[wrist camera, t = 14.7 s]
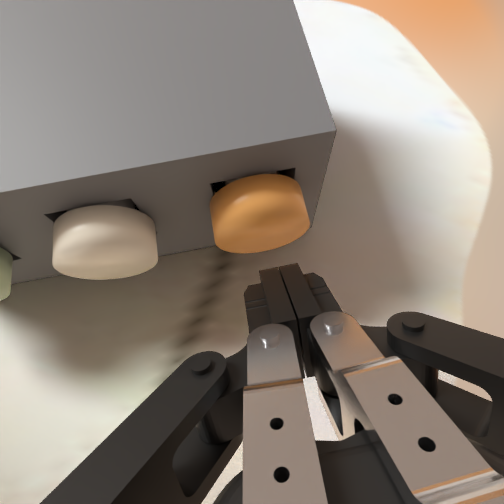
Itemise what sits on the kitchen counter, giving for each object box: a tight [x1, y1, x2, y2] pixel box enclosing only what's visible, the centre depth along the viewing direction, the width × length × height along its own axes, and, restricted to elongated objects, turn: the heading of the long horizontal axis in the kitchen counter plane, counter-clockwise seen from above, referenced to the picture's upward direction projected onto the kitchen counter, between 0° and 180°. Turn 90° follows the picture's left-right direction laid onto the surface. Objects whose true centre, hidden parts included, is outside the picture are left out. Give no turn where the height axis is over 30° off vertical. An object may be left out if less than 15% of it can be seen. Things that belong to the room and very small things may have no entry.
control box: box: [0, 0, 336, 284], centre depth 17 cm, size 19×10×8 cm, turn 100°
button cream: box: [52, 198, 158, 280], centre depth 15 cm, size 4×5×4 cm
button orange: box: [209, 171, 310, 253], centre depth 15 cm, size 4×5×4 cm
